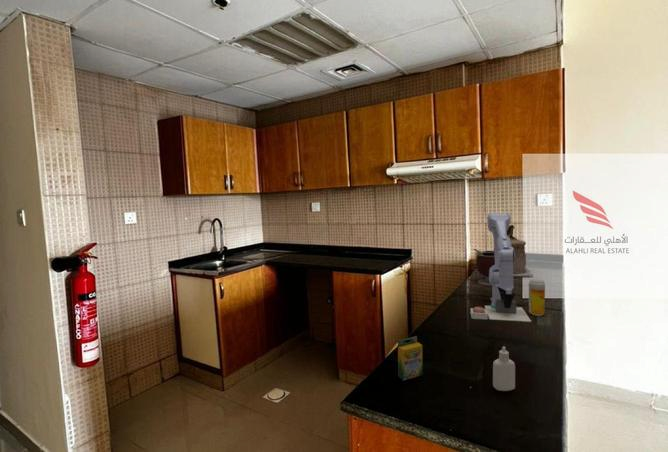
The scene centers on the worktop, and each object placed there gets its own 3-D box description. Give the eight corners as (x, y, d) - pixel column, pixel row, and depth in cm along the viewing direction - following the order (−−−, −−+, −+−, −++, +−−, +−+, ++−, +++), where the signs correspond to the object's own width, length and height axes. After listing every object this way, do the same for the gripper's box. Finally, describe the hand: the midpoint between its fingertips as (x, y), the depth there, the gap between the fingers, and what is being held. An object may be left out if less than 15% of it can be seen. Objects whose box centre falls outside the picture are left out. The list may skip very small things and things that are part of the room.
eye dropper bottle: (493, 382, 103) (493, 342, 102) (514, 385, 101) (515, 345, 99) (492, 389, 99) (492, 348, 98) (515, 394, 97) (515, 352, 96)
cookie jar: (526, 269, 238) (527, 222, 235) (534, 278, 215) (534, 226, 212) (486, 268, 246) (486, 222, 243) (490, 276, 223) (490, 226, 220)
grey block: (490, 309, 162) (490, 299, 161) (514, 311, 159) (514, 300, 159) (491, 312, 159) (491, 301, 158) (516, 313, 156) (516, 302, 155)
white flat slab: (484, 306, 168) (484, 305, 168) (521, 307, 164) (521, 307, 164) (489, 319, 151) (489, 318, 151) (531, 321, 147) (531, 321, 147)
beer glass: (546, 316, 152) (547, 282, 150) (531, 316, 153) (531, 282, 151) (541, 311, 158) (541, 279, 156) (526, 311, 159) (526, 279, 157)
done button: (473, 311, 158) (473, 306, 157) (482, 311, 156) (482, 307, 156) (474, 314, 154) (474, 309, 154) (483, 314, 153) (483, 309, 153)
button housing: (470, 313, 159) (470, 308, 159) (485, 314, 157) (485, 309, 157) (471, 318, 153) (471, 313, 153) (487, 319, 151) (487, 313, 151)
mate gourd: (503, 280, 211) (503, 248, 210) (500, 286, 200) (500, 251, 198) (476, 278, 220) (475, 246, 218) (471, 283, 208) (471, 250, 206)
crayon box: (403, 381, 106) (402, 344, 104) (397, 376, 108) (396, 340, 107) (423, 375, 108) (422, 339, 107) (417, 371, 111) (416, 335, 110)
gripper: (493, 271, 165) (493, 300, 166) (498, 279, 151) (498, 310, 152) (510, 272, 163) (510, 300, 164) (516, 279, 149) (516, 311, 150)
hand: (505, 305), depth 158 cm, fingers open, 7 cm apart
